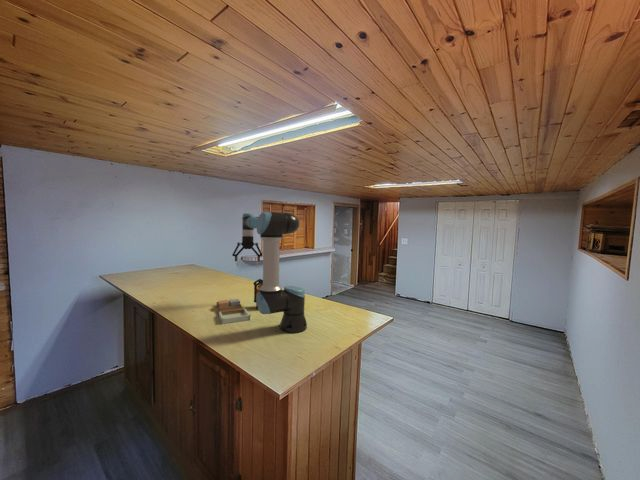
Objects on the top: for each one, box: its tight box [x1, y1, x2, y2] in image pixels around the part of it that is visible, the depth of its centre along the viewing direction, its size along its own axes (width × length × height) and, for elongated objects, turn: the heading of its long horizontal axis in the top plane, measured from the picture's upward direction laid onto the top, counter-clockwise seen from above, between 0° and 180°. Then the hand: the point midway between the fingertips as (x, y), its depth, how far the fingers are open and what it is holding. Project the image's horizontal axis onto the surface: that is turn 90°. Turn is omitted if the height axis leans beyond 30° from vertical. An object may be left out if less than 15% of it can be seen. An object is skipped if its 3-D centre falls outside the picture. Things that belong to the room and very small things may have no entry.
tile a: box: [217, 299, 229, 307], centre depth 178 cm, size 6×6×2 cm
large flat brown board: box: [216, 301, 245, 315], centre depth 178 cm, size 22×14×2 cm, turn 27°
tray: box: [218, 308, 251, 325], centre depth 162 cm, size 13×16×3 cm
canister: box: [253, 278, 263, 310], centre depth 182 cm, size 9×11×20 cm
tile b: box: [228, 298, 241, 306], centre depth 181 cm, size 6×6×2 cm
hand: (247, 266), depth 187 cm, fingers open, 13 cm apart
